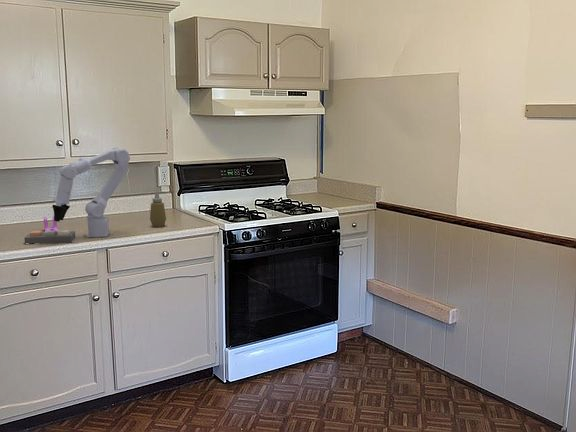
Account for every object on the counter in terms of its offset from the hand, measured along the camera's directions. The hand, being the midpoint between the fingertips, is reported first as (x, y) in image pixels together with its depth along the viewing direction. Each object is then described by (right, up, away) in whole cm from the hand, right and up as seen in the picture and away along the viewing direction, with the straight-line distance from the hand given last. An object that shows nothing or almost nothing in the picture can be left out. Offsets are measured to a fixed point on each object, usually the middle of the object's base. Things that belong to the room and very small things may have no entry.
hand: (58, 220), depth 271 cm
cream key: (+2, -8, +1) cm, 8 cm away
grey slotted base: (-4, -9, +1) cm, 10 cm away
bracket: (-11, -6, +20) cm, 23 cm away
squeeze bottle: (+39, -3, +32) cm, 50 cm away
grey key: (-4, -8, 0) cm, 9 cm away
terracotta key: (-10, -8, -1) cm, 13 cm away
